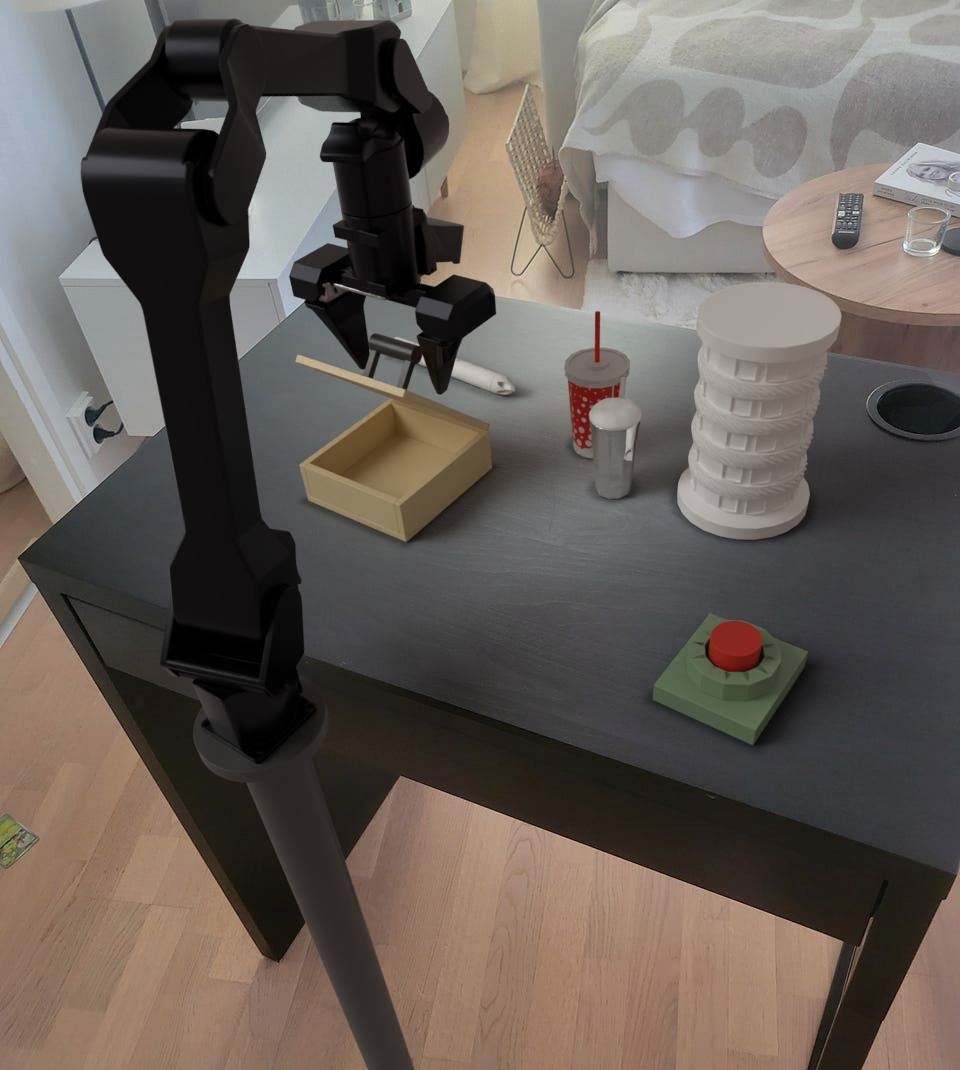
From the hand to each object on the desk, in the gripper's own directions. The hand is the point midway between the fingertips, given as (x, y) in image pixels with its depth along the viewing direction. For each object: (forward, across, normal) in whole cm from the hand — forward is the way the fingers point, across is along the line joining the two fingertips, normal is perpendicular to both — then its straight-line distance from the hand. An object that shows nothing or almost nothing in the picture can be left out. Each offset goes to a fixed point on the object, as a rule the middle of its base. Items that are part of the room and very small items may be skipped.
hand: (402, 379), depth 87 cm
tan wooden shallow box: (+10, 0, +2) cm, 10 cm away
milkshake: (+10, -18, -8) cm, 22 cm away
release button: (+7, -38, +9) cm, 40 cm away
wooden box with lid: (+1, 0, +1) cm, 2 cm away
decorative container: (+10, -29, -12) cm, 33 cm away
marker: (+10, +8, -16) cm, 21 cm away
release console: (+10, -38, +10) cm, 40 cm away
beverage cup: (+10, -13, -12) cm, 21 cm away
